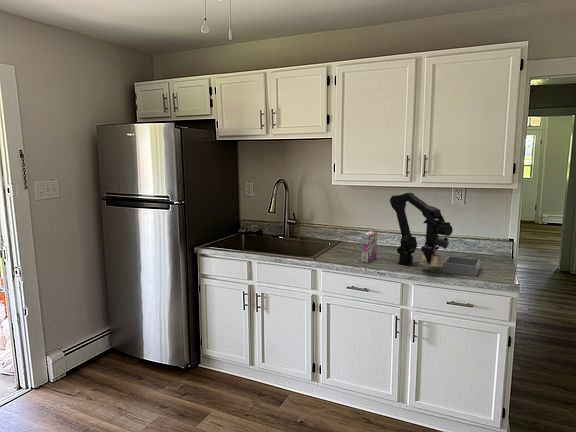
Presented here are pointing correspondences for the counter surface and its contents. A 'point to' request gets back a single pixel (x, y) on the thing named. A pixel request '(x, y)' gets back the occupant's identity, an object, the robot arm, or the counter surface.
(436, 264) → the birch crate
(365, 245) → the candy bar box
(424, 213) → the robot arm
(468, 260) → the charcoal crate
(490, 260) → the counter surface
